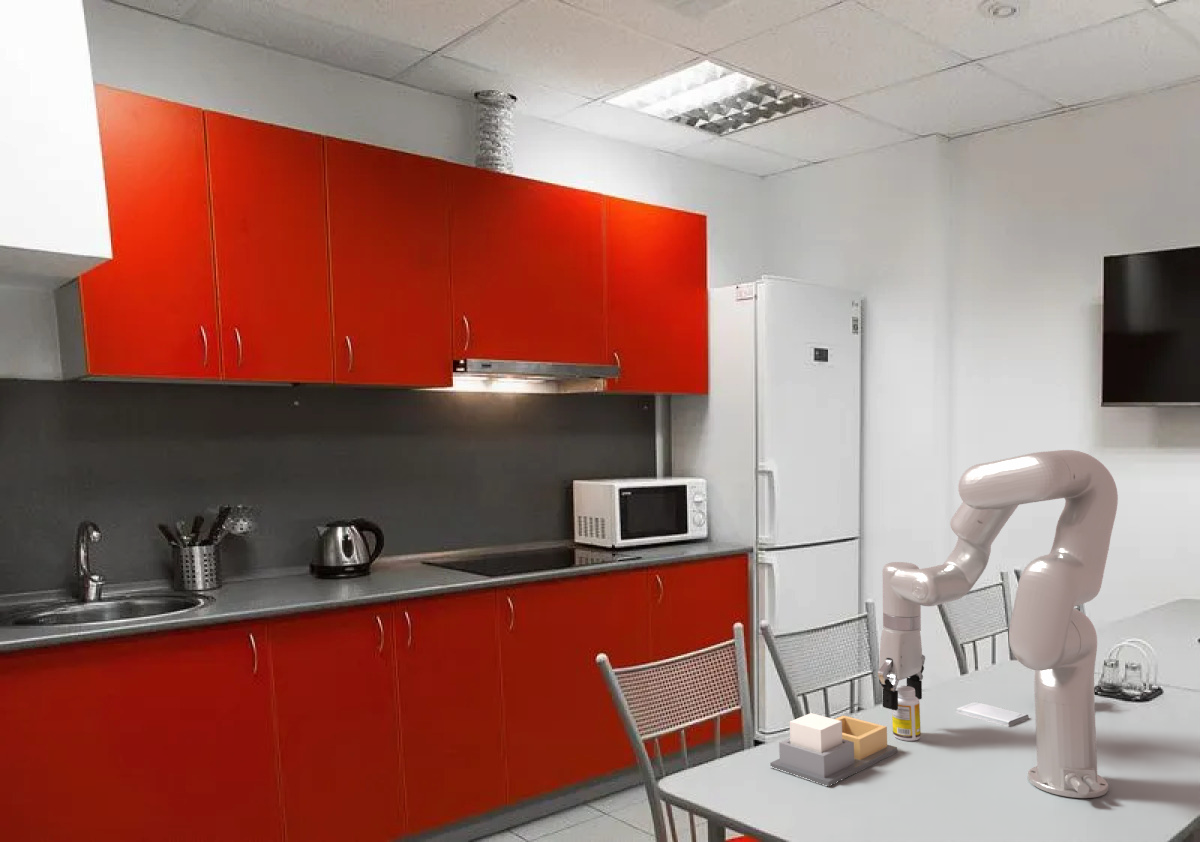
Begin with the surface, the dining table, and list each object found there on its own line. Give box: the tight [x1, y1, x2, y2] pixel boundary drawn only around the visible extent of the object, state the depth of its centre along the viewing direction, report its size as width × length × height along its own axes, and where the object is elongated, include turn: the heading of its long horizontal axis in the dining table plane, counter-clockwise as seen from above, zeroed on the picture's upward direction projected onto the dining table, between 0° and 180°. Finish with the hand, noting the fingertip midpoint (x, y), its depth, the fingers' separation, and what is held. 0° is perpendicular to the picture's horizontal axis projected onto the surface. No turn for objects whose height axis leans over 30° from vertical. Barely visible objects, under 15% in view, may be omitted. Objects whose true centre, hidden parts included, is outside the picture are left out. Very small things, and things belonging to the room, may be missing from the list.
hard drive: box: [955, 701, 1030, 728], centre depth 192 cm, size 2×8×12 cm
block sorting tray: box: [770, 712, 898, 787], centre depth 169 cm, size 24×13×9 cm, turn 132°
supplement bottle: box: [891, 685, 922, 742], centre depth 180 cm, size 6×6×10 cm
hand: (902, 703), depth 181 cm, fingers open, 9 cm apart
